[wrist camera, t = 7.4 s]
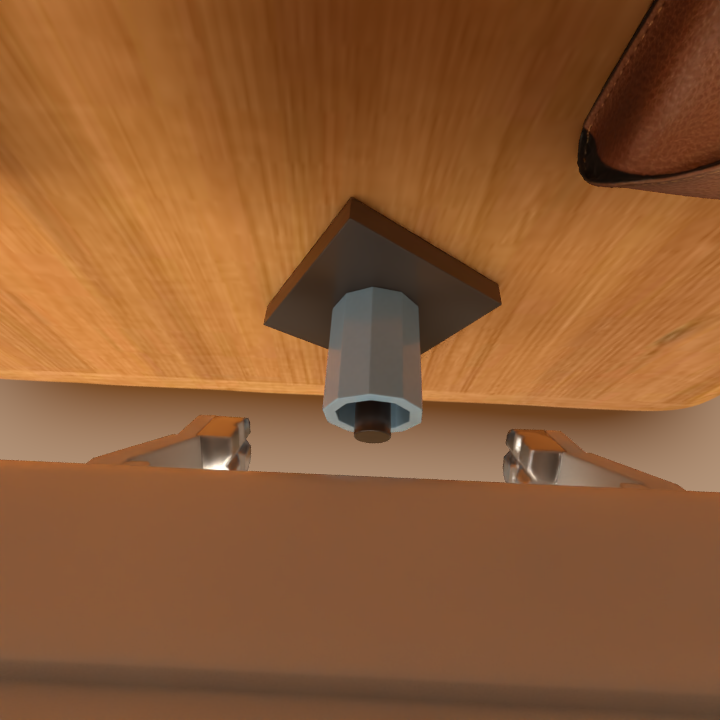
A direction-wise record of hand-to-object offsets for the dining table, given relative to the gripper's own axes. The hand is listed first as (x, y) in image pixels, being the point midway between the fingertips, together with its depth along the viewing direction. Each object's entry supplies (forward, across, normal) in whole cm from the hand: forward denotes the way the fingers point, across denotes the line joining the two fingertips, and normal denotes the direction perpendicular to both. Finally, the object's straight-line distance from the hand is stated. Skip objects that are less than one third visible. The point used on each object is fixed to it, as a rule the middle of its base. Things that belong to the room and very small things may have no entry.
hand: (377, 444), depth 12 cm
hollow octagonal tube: (+14, 0, -2) cm, 14 cm away
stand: (+15, 0, -3) cm, 15 cm away
